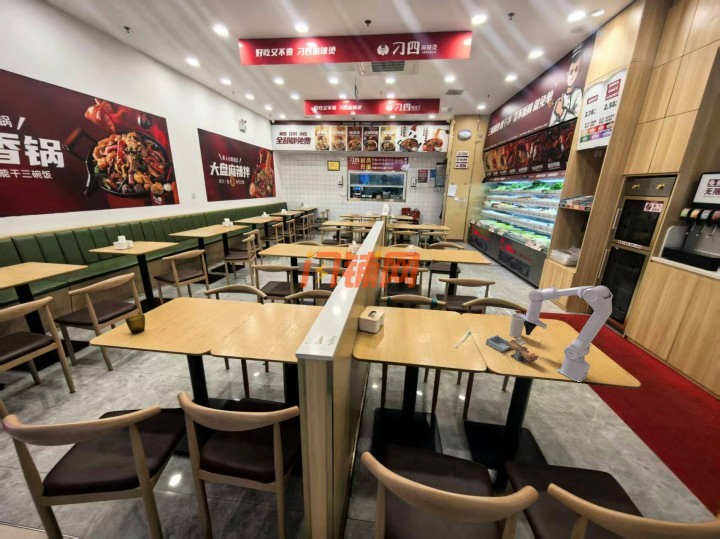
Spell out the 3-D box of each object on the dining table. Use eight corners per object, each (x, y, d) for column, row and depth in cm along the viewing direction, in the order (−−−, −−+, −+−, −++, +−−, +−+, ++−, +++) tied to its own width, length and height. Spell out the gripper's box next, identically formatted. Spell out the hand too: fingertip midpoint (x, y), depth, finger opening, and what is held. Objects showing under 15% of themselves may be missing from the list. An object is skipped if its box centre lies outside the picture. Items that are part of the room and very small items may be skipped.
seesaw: (544, 355, 142) (546, 352, 141) (531, 362, 136) (532, 359, 135) (519, 338, 153) (520, 335, 151) (505, 344, 147) (507, 340, 145)
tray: (511, 348, 152) (512, 342, 151) (501, 352, 147) (502, 347, 146) (496, 340, 159) (497, 334, 158) (485, 344, 155) (486, 338, 154)
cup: (524, 339, 161) (528, 320, 158) (509, 337, 163) (513, 318, 159) (519, 332, 169) (523, 314, 165) (505, 330, 170) (509, 312, 167)
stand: (529, 358, 143) (531, 350, 141) (521, 362, 139) (523, 354, 138) (518, 352, 148) (520, 344, 146) (510, 356, 144) (511, 348, 143)
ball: (534, 358, 138) (537, 354, 137) (531, 359, 137) (534, 355, 135) (529, 353, 140) (532, 349, 139) (526, 355, 139) (528, 351, 138)
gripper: (552, 315, 141) (546, 339, 145) (524, 304, 153) (519, 326, 157) (544, 318, 137) (538, 342, 141) (516, 307, 149) (511, 329, 153)
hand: (527, 334), depth 149 cm, fingers closed
